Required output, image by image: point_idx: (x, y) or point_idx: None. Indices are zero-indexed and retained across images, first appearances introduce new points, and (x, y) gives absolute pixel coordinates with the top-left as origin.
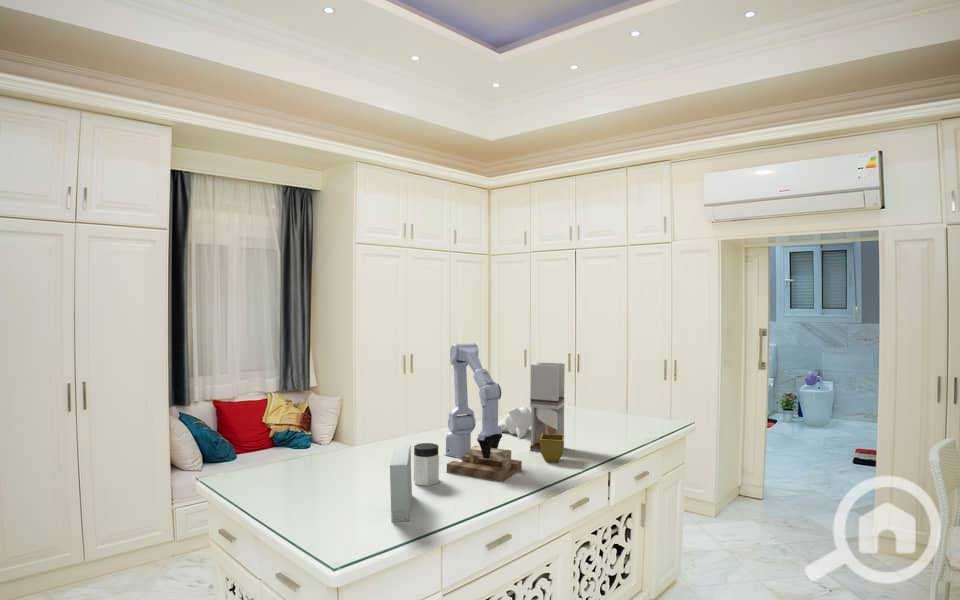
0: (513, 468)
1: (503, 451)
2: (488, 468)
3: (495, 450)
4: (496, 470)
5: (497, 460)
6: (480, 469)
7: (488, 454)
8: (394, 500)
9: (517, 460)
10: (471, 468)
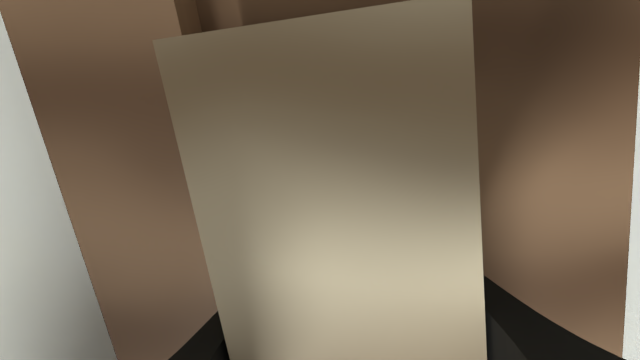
0: (196, 23)
1: (319, 136)
2: (553, 172)
3: (352, 292)
4: (581, 42)
5: (204, 258)
6: (628, 228)
7: (517, 303)
8: None
9: (24, 57)
10: (618, 328)
